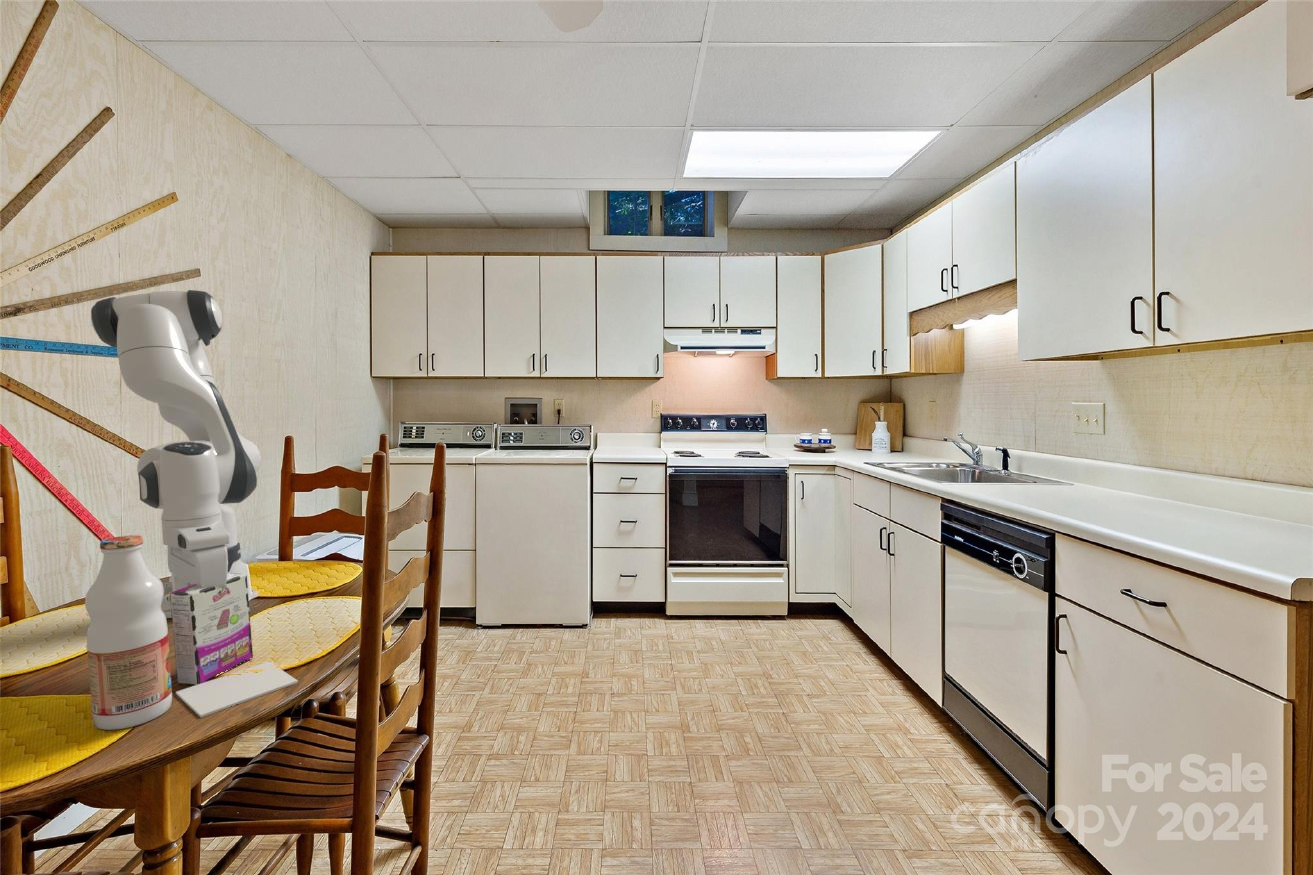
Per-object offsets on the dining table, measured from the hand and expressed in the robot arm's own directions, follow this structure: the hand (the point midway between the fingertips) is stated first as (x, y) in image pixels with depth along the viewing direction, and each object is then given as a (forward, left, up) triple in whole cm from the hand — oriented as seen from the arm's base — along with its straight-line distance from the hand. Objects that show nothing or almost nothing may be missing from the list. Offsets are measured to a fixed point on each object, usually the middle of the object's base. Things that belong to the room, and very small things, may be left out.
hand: (198, 604), depth 113 cm
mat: (+18, 0, -11) cm, 21 cm away
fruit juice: (+15, -13, -11) cm, 22 cm away
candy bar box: (+7, 0, -11) cm, 13 cm away
